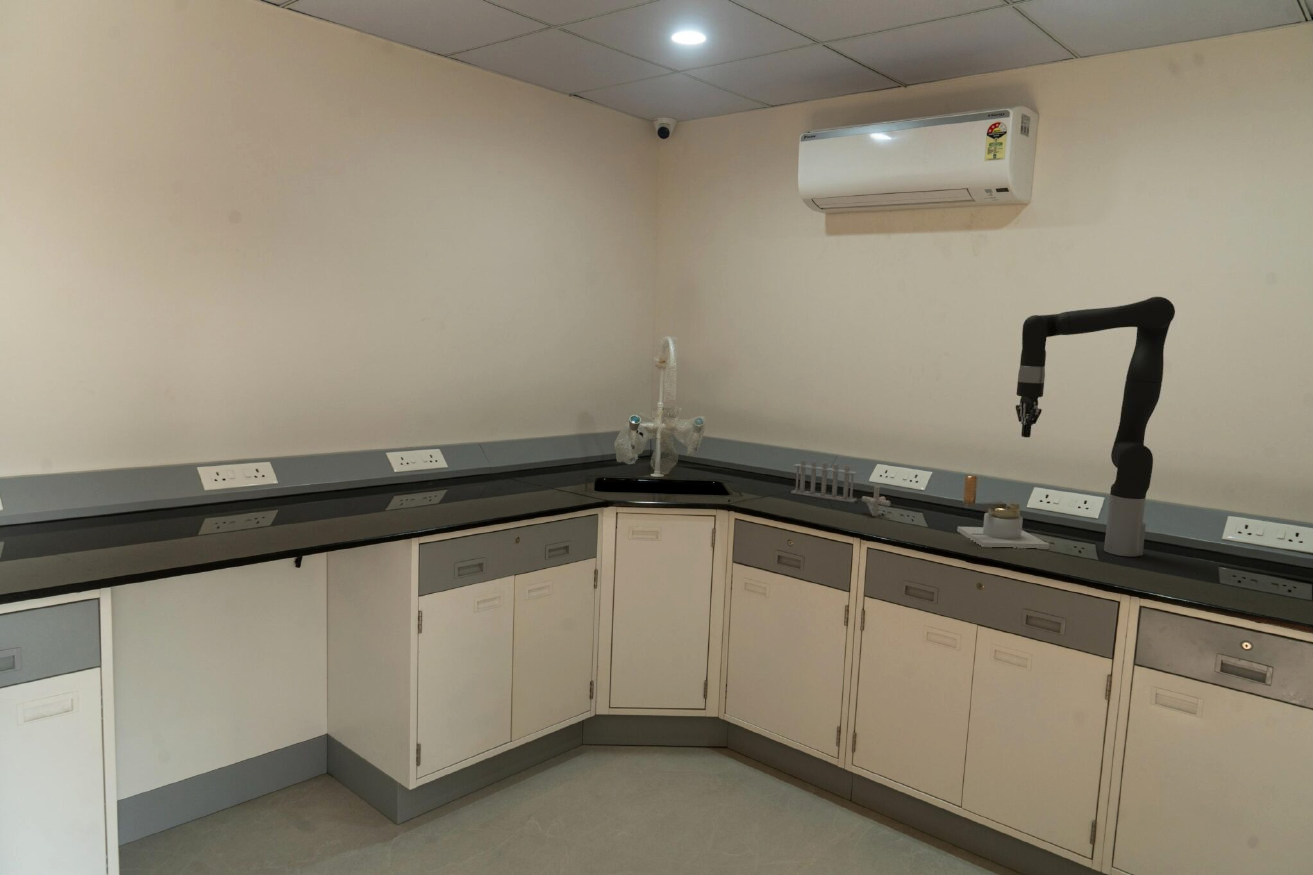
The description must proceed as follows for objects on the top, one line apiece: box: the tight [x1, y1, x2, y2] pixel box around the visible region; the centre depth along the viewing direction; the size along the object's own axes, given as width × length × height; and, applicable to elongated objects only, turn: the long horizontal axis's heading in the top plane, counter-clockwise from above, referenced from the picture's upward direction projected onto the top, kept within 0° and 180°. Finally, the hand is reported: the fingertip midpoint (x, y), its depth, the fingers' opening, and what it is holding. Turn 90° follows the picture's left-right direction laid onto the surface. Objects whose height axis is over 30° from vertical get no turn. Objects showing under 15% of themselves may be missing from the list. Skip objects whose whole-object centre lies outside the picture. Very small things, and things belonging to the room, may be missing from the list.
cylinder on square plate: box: [956, 512, 1050, 550], centre depth 263 cm, size 20×20×8 cm
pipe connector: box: [861, 485, 891, 517], centre depth 292 cm, size 10×10×10 cm
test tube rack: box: [790, 459, 859, 504], centre depth 321 cm, size 25×4×13 cm, turn 55°
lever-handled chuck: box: [962, 474, 1021, 519], centre depth 261 cm, size 18×9×12 cm, turn 101°
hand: (1025, 437), depth 263 cm, fingers closed
